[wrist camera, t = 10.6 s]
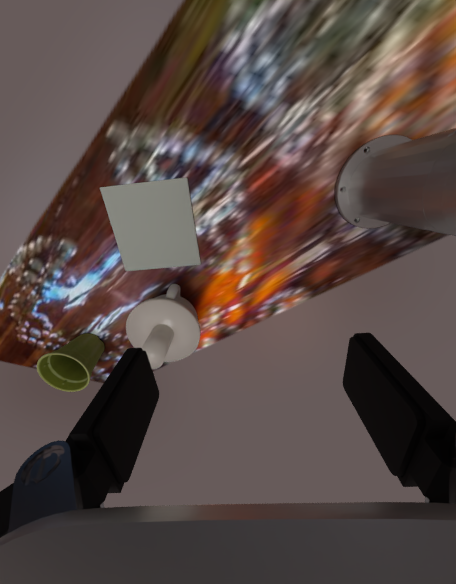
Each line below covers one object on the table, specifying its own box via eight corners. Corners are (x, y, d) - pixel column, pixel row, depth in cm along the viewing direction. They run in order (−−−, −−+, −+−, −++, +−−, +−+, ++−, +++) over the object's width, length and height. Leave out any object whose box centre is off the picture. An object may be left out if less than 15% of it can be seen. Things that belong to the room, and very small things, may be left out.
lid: (193, 294, 34) (184, 318, 27) (205, 355, 39) (200, 387, 32) (119, 301, 34) (93, 326, 28) (139, 360, 39) (121, 392, 33)
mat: (187, 177, 34) (186, 177, 34) (200, 263, 40) (200, 264, 39) (101, 187, 35) (99, 187, 34) (126, 270, 41) (125, 271, 40)
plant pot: (66, 322, 46) (32, 349, 38) (112, 330, 46) (87, 358, 39) (71, 356, 50) (41, 387, 42) (113, 363, 50) (91, 395, 42)
